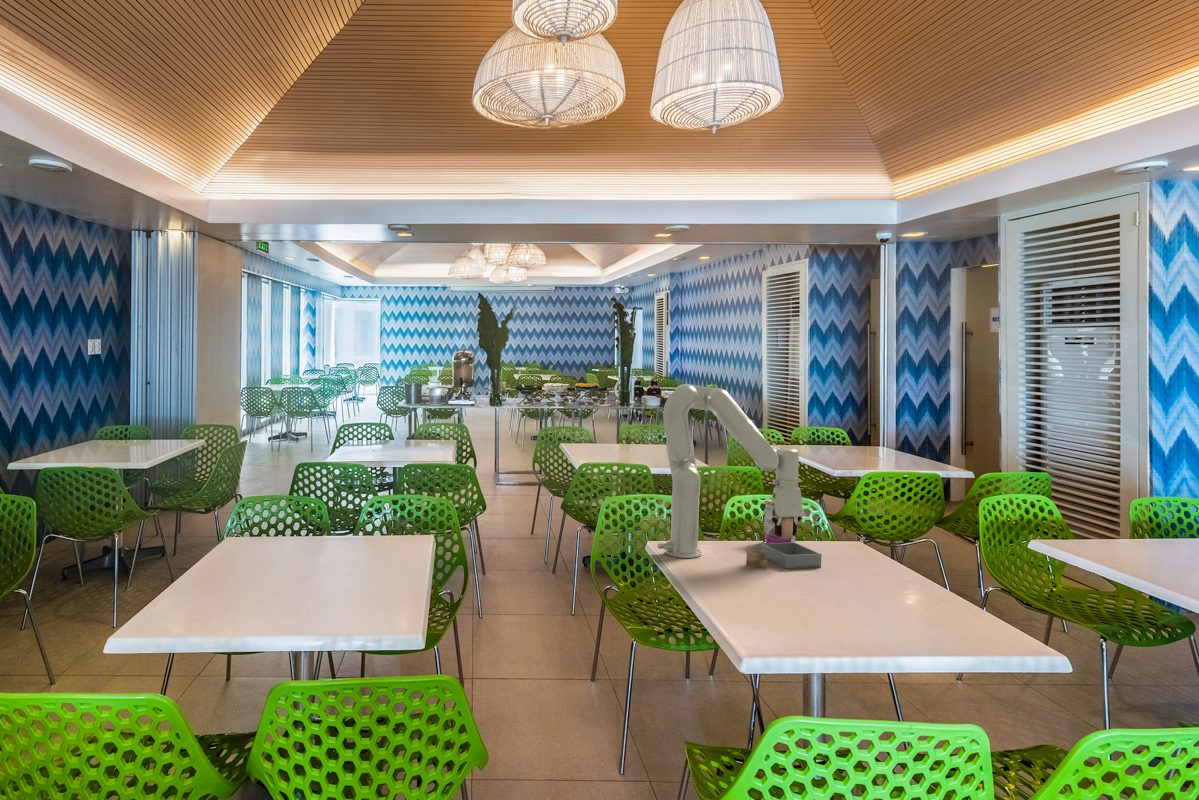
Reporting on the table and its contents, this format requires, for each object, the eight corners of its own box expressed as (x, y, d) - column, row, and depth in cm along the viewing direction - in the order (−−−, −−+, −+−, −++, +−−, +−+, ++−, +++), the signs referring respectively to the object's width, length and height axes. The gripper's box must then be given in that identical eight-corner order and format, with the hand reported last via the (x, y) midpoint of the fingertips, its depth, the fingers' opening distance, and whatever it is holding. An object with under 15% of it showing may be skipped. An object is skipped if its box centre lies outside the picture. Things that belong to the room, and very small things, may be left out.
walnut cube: (753, 569, 250) (753, 554, 250) (746, 565, 255) (746, 550, 254) (766, 568, 251) (767, 553, 251) (759, 564, 256) (760, 550, 256)
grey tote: (785, 569, 251) (786, 555, 251) (761, 556, 267) (761, 543, 267) (820, 567, 254) (821, 554, 254) (794, 554, 271) (794, 542, 271)
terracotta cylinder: (782, 539, 262) (783, 519, 261) (775, 536, 266) (776, 516, 266) (795, 538, 263) (796, 518, 263) (788, 535, 268) (788, 516, 268)
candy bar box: (762, 543, 287) (764, 500, 286) (766, 541, 291) (768, 499, 291) (791, 548, 281) (792, 504, 280) (795, 545, 285) (797, 502, 285)
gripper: (770, 486, 258) (768, 539, 259) (814, 484, 263) (812, 536, 263) (759, 483, 265) (758, 534, 266) (802, 481, 270) (801, 532, 271)
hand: (785, 535), depth 265 cm, fingers closed on terracotta cylinder, 5 cm apart
